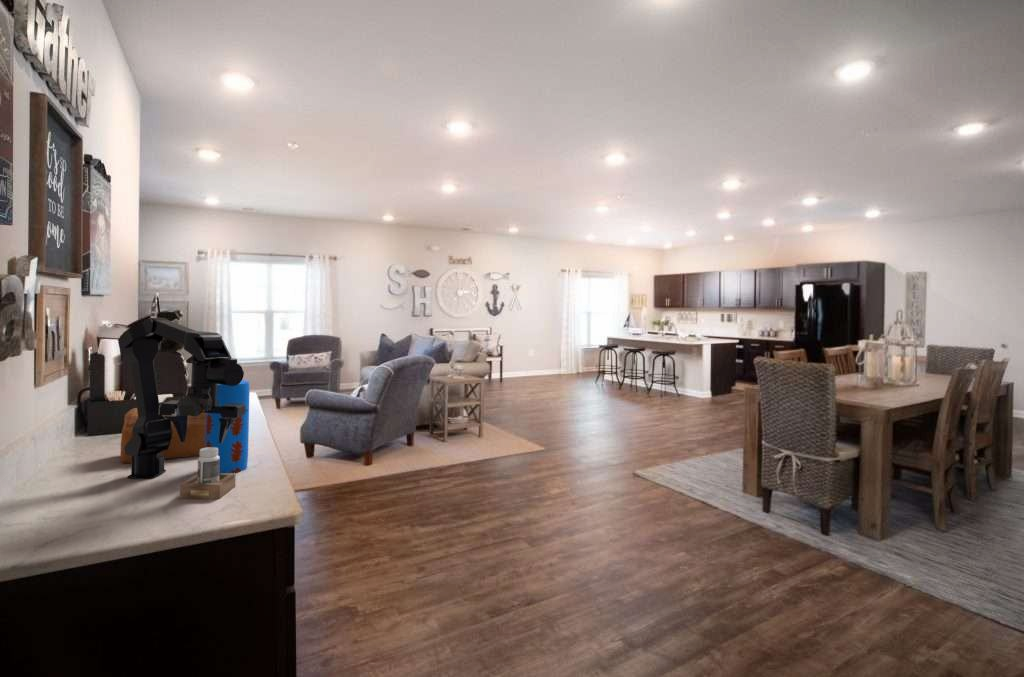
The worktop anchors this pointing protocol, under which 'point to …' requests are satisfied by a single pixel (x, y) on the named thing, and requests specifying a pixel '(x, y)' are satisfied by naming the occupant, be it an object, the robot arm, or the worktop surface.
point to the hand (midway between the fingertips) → (202, 442)
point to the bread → (176, 448)
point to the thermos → (230, 429)
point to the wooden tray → (207, 487)
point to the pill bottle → (208, 465)
